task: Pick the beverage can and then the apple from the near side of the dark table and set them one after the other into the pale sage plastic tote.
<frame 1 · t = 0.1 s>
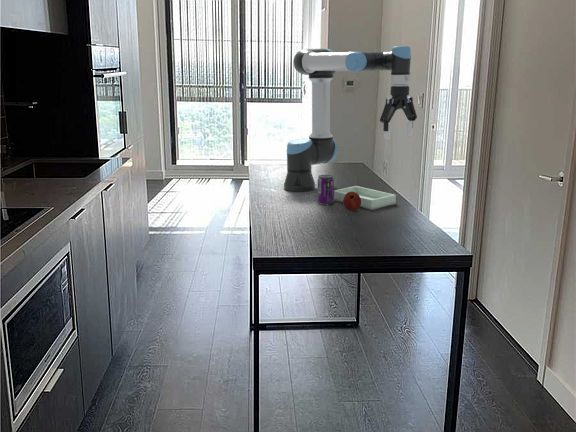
hand: (398, 137, 235), 28 cm above the table, fingers open, 13 cm apart
tote: (363, 201, 244), on the table
apple: (351, 210, 231), on the table
beverage can: (325, 203, 243), on the table
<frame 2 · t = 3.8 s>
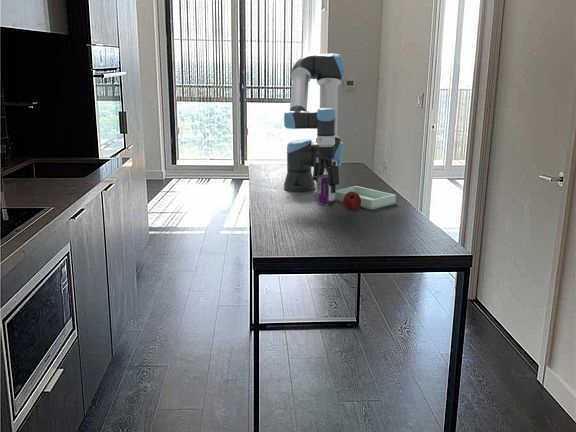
hand: (325, 198, 242), 2 cm above the table, fingers closed on beverage can, 7 cm apart
beverage can: (325, 203, 243), on the table, touching gripper
everything else where it was.
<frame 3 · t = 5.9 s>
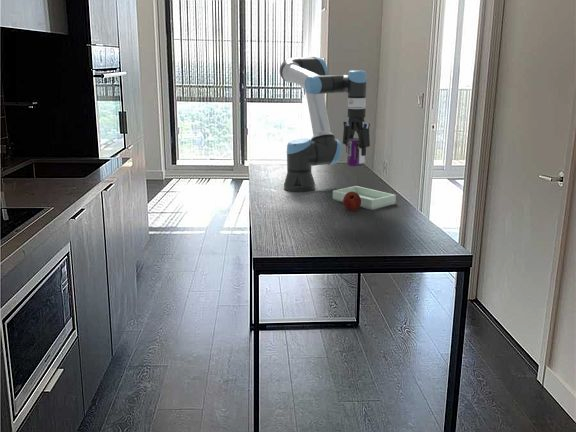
hand: (355, 161, 243), 17 cm above the table, fingers closed on beverage can, 7 cm apart
beverage can: (355, 166, 244), point 15 cm above the table, touching gripper
everything else where it was.
when the fingers open (6 cm above the table, at t = 8.2 s): beverage can drops 3 cm, resting on tote.
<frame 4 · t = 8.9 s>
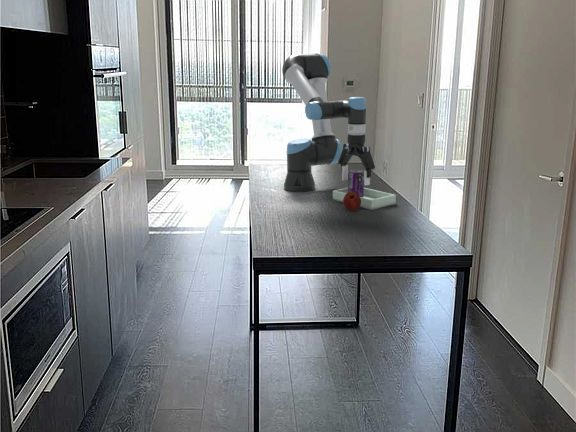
hand: (355, 182, 246), 8 cm above the table, fingers open, 13 cm apart
beverage can: (355, 197, 249), point 1 cm above the table, touching tote
everything else where it was.
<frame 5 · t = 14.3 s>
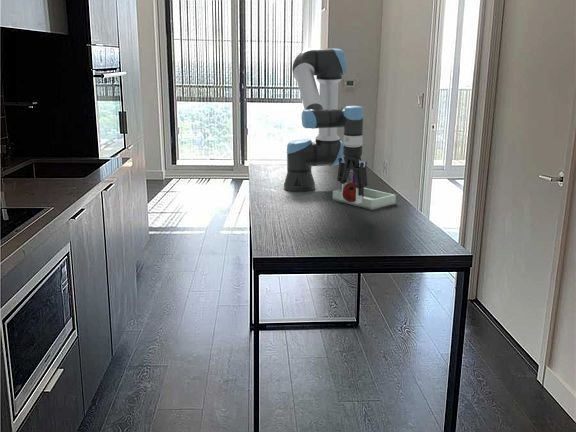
hand: (351, 200, 230), 4 cm above the table, fingers closed on apple, 8 cm apart
apple: (351, 201, 231), point 3 cm above the table, touching gripper
everything else where it was.
when the fingers open (6 cm above the table, at t = 18.3 s): apple drops 5 cm, resting on tote.
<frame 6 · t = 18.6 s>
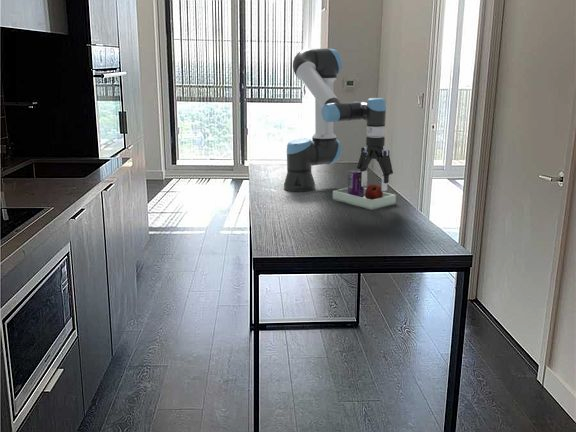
hand: (374, 188, 238), 7 cm above the table, fingers open, 11 cm apart
apple: (373, 202, 239), point 1 cm above the table, touching tote
everything else where it was.
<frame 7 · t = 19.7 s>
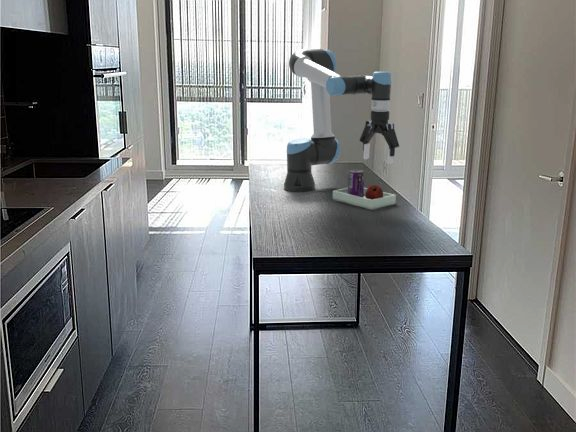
hand: (377, 161, 237), 18 cm above the table, fingers open, 13 cm apart
nothing on the table moved.
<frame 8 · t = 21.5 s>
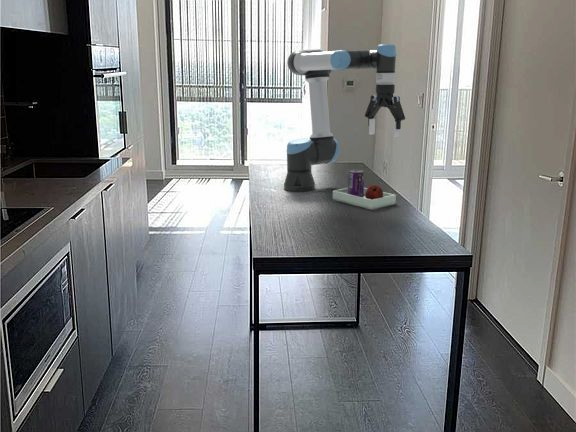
hand: (383, 135, 235), 29 cm above the table, fingers open, 13 cm apart
nothing on the table moved.
at the end: beverage can inside the target area on the tote (5.3 cm from its centre), point 0.6 cm above the tote's base; apple inside the target area on the tote (6.5 cm from its centre), point 0.6 cm above the tote's base; the gripper is holding nothing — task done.
